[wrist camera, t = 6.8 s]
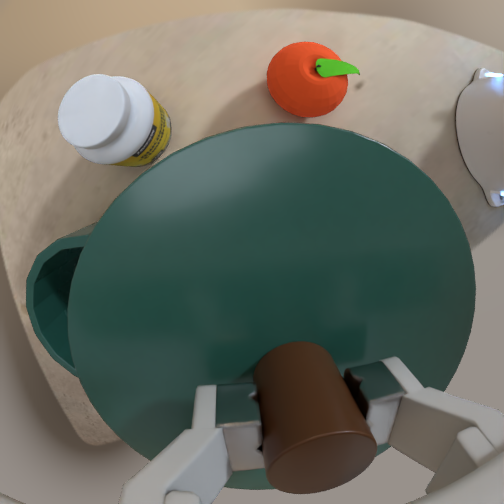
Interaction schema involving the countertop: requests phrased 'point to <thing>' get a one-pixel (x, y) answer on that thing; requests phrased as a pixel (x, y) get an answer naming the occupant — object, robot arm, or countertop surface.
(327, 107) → the clementine
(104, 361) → the lid
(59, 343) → the tin
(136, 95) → the pill bottle
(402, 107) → the countertop surface
